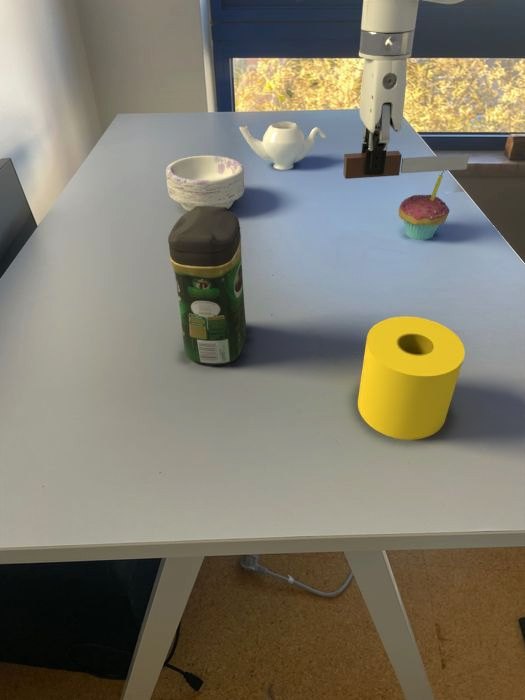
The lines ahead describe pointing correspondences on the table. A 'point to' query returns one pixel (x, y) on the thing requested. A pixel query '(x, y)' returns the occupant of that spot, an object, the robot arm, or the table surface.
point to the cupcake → (423, 214)
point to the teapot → (282, 143)
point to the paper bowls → (205, 181)
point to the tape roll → (409, 376)
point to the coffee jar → (209, 283)
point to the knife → (403, 164)
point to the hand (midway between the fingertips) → (371, 170)
